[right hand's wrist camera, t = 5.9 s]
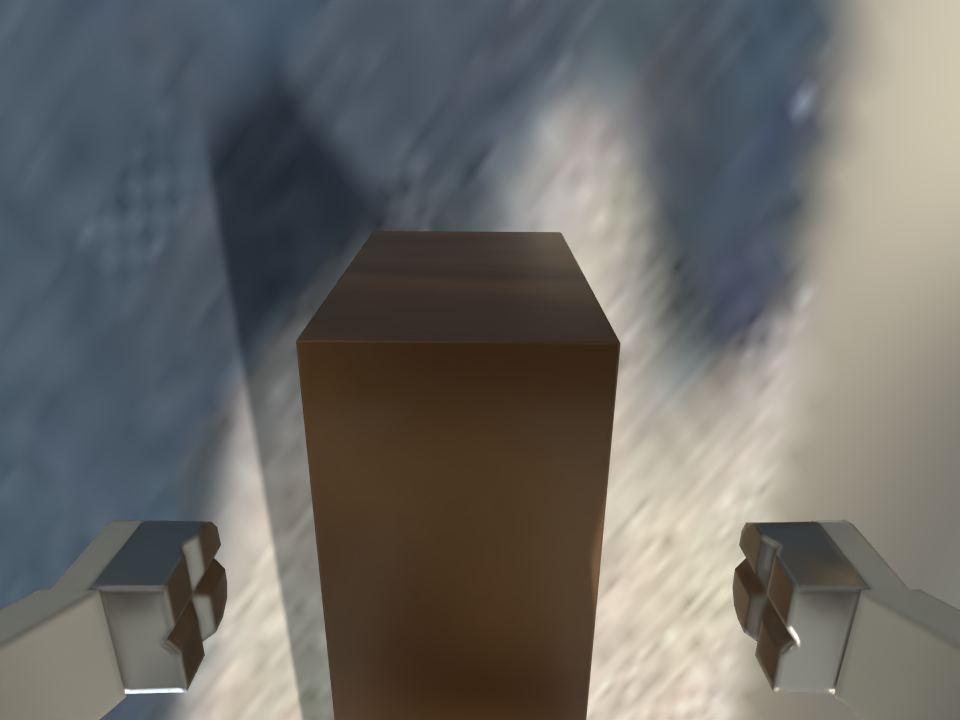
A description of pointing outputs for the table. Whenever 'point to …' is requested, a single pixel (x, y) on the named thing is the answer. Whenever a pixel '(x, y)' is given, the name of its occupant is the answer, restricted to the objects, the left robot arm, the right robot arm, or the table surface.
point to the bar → (459, 475)
